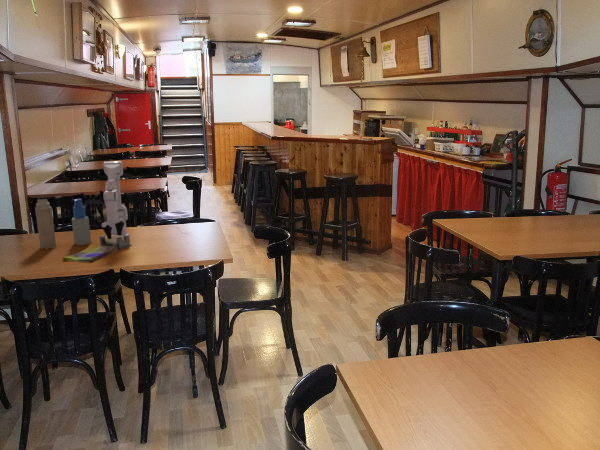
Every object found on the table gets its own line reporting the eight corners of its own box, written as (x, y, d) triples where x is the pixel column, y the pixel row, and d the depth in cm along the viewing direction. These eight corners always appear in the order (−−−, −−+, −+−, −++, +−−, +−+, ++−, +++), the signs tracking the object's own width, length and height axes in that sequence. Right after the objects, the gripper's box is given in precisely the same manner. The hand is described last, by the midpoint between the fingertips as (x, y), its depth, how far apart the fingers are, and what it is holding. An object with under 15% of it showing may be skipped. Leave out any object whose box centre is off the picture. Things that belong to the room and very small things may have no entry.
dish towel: (61, 261, 282) (60, 256, 281) (92, 249, 304) (91, 244, 304) (90, 264, 276) (90, 258, 276) (119, 251, 299) (119, 245, 299)
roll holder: (98, 247, 305) (97, 236, 304) (111, 243, 314) (110, 232, 312) (119, 249, 299) (118, 238, 298) (132, 245, 308) (131, 234, 306)
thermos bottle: (47, 245, 313) (41, 195, 306) (59, 245, 310) (53, 195, 304) (37, 248, 305) (30, 198, 299) (48, 249, 303) (42, 198, 297)
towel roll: (103, 244, 307) (101, 235, 305) (109, 241, 311) (108, 232, 310) (121, 246, 302) (119, 238, 300) (127, 243, 306) (126, 234, 304)
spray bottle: (82, 240, 321) (78, 197, 316) (94, 241, 317) (90, 198, 312) (70, 244, 313) (65, 200, 308) (82, 245, 310) (77, 201, 304)
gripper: (107, 216, 294) (110, 241, 297) (127, 210, 307) (129, 234, 310) (97, 215, 297) (100, 239, 300) (117, 209, 310) (119, 233, 313)
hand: (114, 237), depth 305 cm, fingers open, 7 cm apart
